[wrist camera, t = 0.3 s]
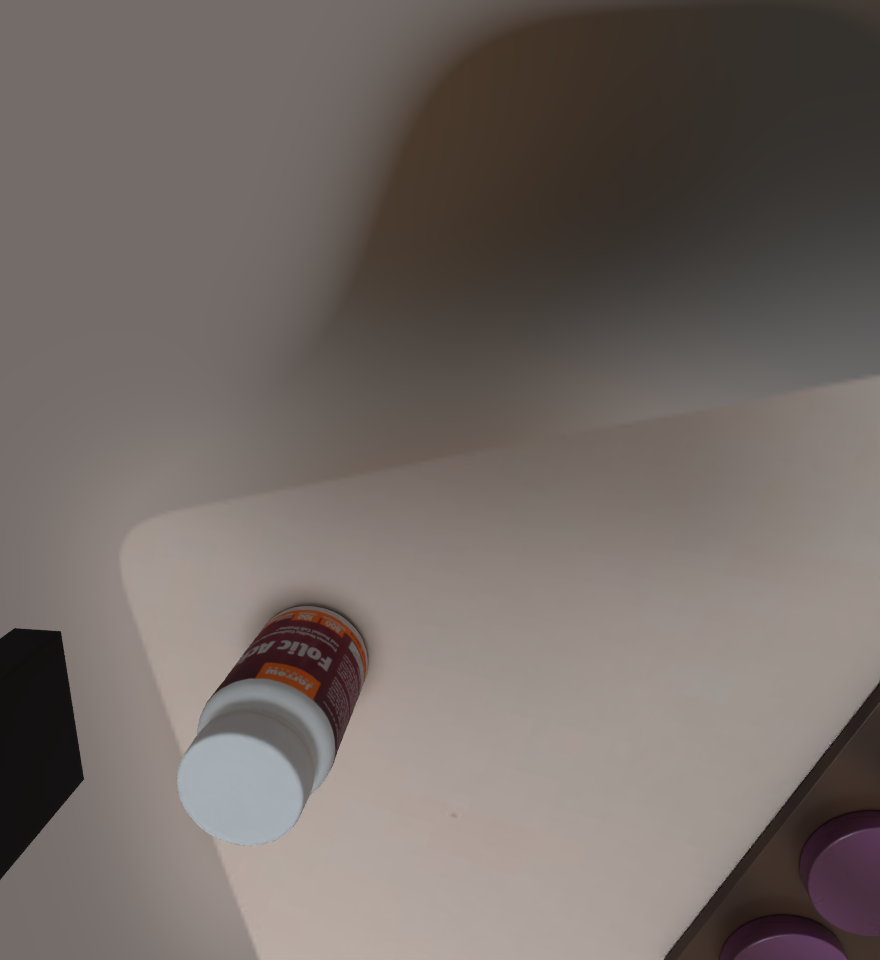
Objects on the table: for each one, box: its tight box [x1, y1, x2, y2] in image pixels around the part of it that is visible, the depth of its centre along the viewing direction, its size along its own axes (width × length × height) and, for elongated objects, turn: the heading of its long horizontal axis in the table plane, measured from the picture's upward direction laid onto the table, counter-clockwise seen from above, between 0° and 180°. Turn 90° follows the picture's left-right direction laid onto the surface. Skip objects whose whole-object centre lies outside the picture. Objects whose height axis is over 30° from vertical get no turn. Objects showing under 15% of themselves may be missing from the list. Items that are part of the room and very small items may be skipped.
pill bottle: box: [177, 606, 368, 845], centre depth 26 cm, size 5×5×8 cm
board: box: [665, 685, 880, 960], centre depth 29 cm, size 18×8×2 cm, turn 154°
